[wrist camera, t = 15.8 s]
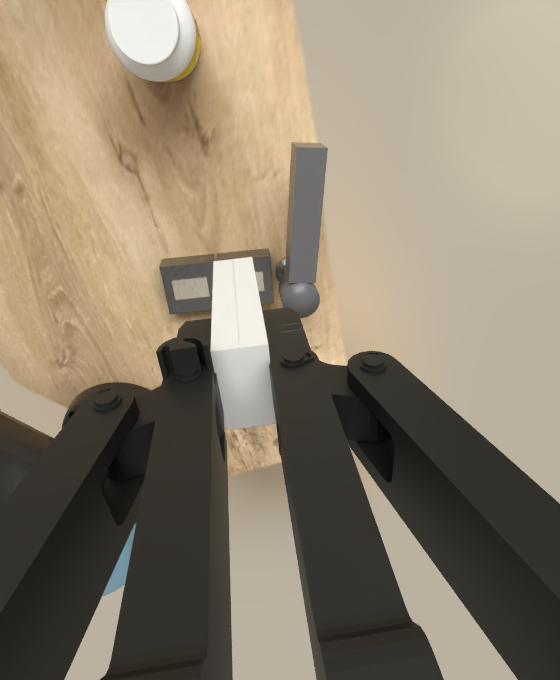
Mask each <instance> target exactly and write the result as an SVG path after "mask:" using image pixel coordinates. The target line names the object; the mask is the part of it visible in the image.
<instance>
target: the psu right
mask: <svg viewBox="0 0 560 680" xmlns="http://www.w3.org/2000/svg"><path fill="white" fill-rule="evenodd" d="M246 257H252V259H253V264H254V270H255V275H256V281H257V286H258V291H259V297H260V302H261V304H269V303H274V301H273V288H272V275H271V262H270V254H269V250H268V249H260V250H250V251H240V252H230V253H220V254H218V260H217V261H221V260H229V259H238V258H246Z"/></svg>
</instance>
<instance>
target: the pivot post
mask: <svg viewBox="0 0 560 680" xmlns="http://www.w3.org/2000/svg"><path fill="white" fill-rule="evenodd" d="M285 262H286V257H284V258H283V259H281V260H280V261H279V262H278V264H277V266H276V276H277V278H278V280H279V281H281V279H282V278H283V277H284V276H285V275H286V273H285Z"/></svg>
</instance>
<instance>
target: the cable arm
mask: <svg viewBox="0 0 560 680" xmlns="http://www.w3.org/2000/svg"><path fill="white" fill-rule="evenodd" d="M327 149H328V148H327V147H325V146H324V145H322V144H321V143H294V142H292V146H291V165H290V185H289V204H288V223H287V242H286V262H285V273H286V275H285V276H284V277H283V278H282V279H281V281H280V283H279V293H280V297H281V301H282V305H283V308H289V307H290V308H292V309H293V310H294V311H296V312H297V313H298V314H299V317H300V318H303V317H307V316H309V315H311V314H312V313H314V312H315V311H316V309H317V308H318V306H319V302H320V297H319V294H318V291H317V289H316V287H315V285H314V283H315V281H316V270H317V259H318V248H319V238H320V227H321V216H322V205H323V194H324V183H325V172H326V160H327Z"/></svg>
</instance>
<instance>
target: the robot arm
mask: <svg viewBox="0 0 560 680" xmlns="http://www.w3.org/2000/svg"><path fill="white" fill-rule="evenodd" d="M156 354H157V357H158V361H159V365H160V368H161V372H162V376H163V381H162V385H161V386H159V387H158V388H156V389H154V390H151V391H150V390H148V389H146V388H144V387H141V386H138V385H134V384H129V383H105V384H100V385H97V386H94V387H91V388H89V389H87V390H85V391H83V392H82V393H81V394H79V395H78V396H77V397H76V398H75V399H74V400H73V401H72V403H71V404H70V406H69V408H68V410H67V413H66V415H65V417H64V420H63V424H62V430H61V431H60V432H59V434H58V435H57V436H56V437H55V439H54V438H52V437H50V436H48V435H46V434H44V433H42V432H40V431H38V430H36V429H34V428H33V427H31V426H29V425H27V424H25V423H23V422H21V421H19V420H17V419H15V418H13V417H11V416H9V415H7V414H5V413H3V412H1V411H0V680H64V679H65V677H66V674H67V672H68V670H69V668H70V666H71V663H72V661H73V659H74V657H75V654H76V652H77V650H78V648H79V646H80V643H81V641H82V639H83V637H84V634H85V632H86V630H87V628H88V626H89V624H90V621H91V619H92V617H93V615H94V612H95V610H96V608H97V606H98V604H99V602H100V599H101V597H102V596H105V595H107V594H109V593H112V592H114V591H116V590H117V589H119V588H121V587H122V586H123V585H125V587H124V592H123V598H122V603H121V609H120V614H119V620H118V625H117V631H116V636H115V641H114V647H113V652H112V657H111V661H110V665H109V669H108V671H107V673H106V675H105V676H104V677H103V678H101V679H100V680H232V638H231V597H230V557H229V556H230V555H229V517H228V516H229V514H228V472H227V442H226V437H225V432H224V425H225V430H226V431H227V430H234V429H241V428H248V427H255V426H262V425H269V424H276V425H277V434H278V443H279V452H280V455H281V460H282V466H283V472H284V478H285V485H286V491H287V496H288V503H289V509H290V516H291V522H292V529H293V535H294V541H295V547H296V554H297V560H298V566H299V572H300V578H301V585H302V591H303V597H304V603H305V609H306V616H307V622H308V628H309V635H310V641H311V647H312V653H313V660H314V666H315V672H316V679H317V680H444V679H443V677H442V674H441V671H440V669H439V666H438V663H437V661H436V658H435V655H434V653H433V651H432V648H431V646H430V643H429V641H428V639H427V636H426V635H425V633H424V632H423V630H422V628H421V627H420V626H419V625H417V624H416V623H414V622H413V621H412V620H411V618H410V616H409V614H408V612H407V609H406V607H405V604H404V601H403V598H402V595H401V592H400V589H399V587H398V584H397V581H396V578H395V575H394V572H393V569H392V567H391V564H390V561H389V558H388V555H387V552H386V550H385V547H384V544H383V541H382V538H381V535H380V532H379V530H378V527H377V524H376V521H375V518H374V516H373V513H372V510H371V507H370V504H369V501H368V498H367V495H366V493H365V490H364V487H363V484H362V481H361V478H360V475H359V473H358V470H357V467H356V464H355V461H354V459H353V456H352V453H351V450H350V448H351V449H352V450H353V452H354V453H355V455H356V456H357V457H358V459H359V460H360V461H361V463H362V464H363V466H364V467H365V468H366V470H367V471H368V473H369V474H370V475H371V477H372V478H373V479H374V481H375V482H376V484H377V485H378V486H379V488H380V489H381V491H382V492H383V493H384V495H385V496H386V498H387V499H388V500H389V502H390V503H391V504H392V506H393V507H394V509H395V510H396V511H397V513H398V514H399V516H400V517H401V518H402V520H403V521H404V522H405V524H406V525H407V527H408V528H409V529H410V531H411V532H412V534H413V535H414V536H415V538H416V539H417V540H418V542H419V543H420V544H421V546H422V547H423V549H424V550H425V552H426V553H427V554H428V556H429V557H430V558H431V560H432V561H433V563H434V564H435V565H436V567H437V568H438V569H439V571H440V572H441V574H442V575H443V576H444V578H445V579H446V581H447V582H448V583H449V585H450V586H451V587H452V589H453V590H454V592H455V593H456V594H457V596H458V597H459V599H460V600H461V601H462V603H463V604H464V606H465V607H466V608H467V610H468V611H469V612H470V614H471V615H472V617H473V618H474V619H475V621H476V622H477V623H478V625H479V626H480V628H481V629H482V630H483V632H484V633H485V635H486V636H487V637H488V639H489V640H490V642H491V643H492V644H493V646H494V647H495V648H496V650H497V651H498V653H499V654H500V655H501V657H502V658H503V660H504V661H505V662H506V664H507V665H508V666H509V668H510V669H511V671H512V672H513V673H514V675H515V676H516V678H517V679H518V680H560V504H559V503H558V502H557V501H556V500H555V499H554V498H553V497H551V496H550V495H549V494H548V493H547V492H546V491H545V490H543V489H542V488H541V487H540V486H539V485H538V484H537V483H536V482H534V481H533V480H532V479H531V478H530V477H529V476H528V475H526V474H525V473H524V472H523V471H522V470H521V469H520V468H519V467H517V466H516V465H515V464H514V463H513V462H512V461H511V460H509V459H508V458H507V457H506V456H505V455H504V454H503V453H502V452H500V451H499V450H498V449H497V448H496V447H495V446H494V445H493V444H491V443H490V442H489V441H488V440H487V439H486V438H484V437H483V436H482V435H481V434H480V433H479V432H478V431H477V430H476V429H474V428H473V427H472V426H471V425H470V424H469V423H468V422H466V421H465V420H464V419H463V418H462V417H461V416H460V415H459V414H457V413H456V412H455V411H454V410H453V409H452V408H450V406H448V405H447V404H446V403H445V402H444V401H443V400H442V399H440V398H439V397H438V396H437V395H436V394H435V393H434V392H433V391H431V390H430V389H429V388H428V387H427V386H426V385H425V384H423V383H422V382H421V381H420V380H419V379H418V378H417V377H415V376H414V375H413V374H412V373H411V372H410V371H409V370H408V369H406V368H405V367H404V366H403V365H402V364H401V363H400V362H399V361H397V360H396V359H395V358H394V357H392V356H390V355H389V354H385V353H382V352H376V351H367V352H361V353H358V354H356V355H354V356H352V357H351V358H350V359H349V360H348V365H347V366H340V365H331V364H327V363H324V362H321V361H319V359H318V357H317V355H316V354H315V353H314V352H313V351H311V349H310V346H309V343H308V340H307V338H306V335H305V332H304V330H303V326H302V323H301V320H300V317H299V314H298V313H297V312H296V311H294V310H293V309H292V308H290V307H289V308H281V309H273V310H265V311H262V308H261V302H260V297H259V291H258V286H257V281H256V275H255V270H254V264H253V259H252V257H246V258H238V259H229V260H221V261H213V291H212V318H210V319H202V320H194V321H186V322H185V323H184V324H183V325H182V326H181V327H180V329H179V330H178V335H177V337H176V338H173V339H171V340H168V341H166V342H165V343H163V344H162V345H161V346H159V348H158V350H157V351H156ZM349 446H350V447H349Z"/></svg>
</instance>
